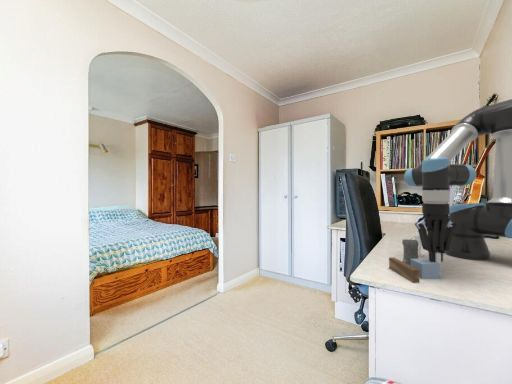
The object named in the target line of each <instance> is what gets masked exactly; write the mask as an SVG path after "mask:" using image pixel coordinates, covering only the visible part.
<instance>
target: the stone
mask: <svg viewBox="0 0 512 384" xmlns="http://www.w3.org/2000/svg"><path fill="white" fill-rule="evenodd" d="M407 239H408V240H407ZM407 239H404V238H403V239H402V242H401V243H402V245H403V246H402V248H403V255H402V256H403V257H402V258H403V259H402V262H404V263H406V264H408V265H410V266H411V259H420V258H419V254H418V241H417V240H415V239H410V238H407Z"/></svg>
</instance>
